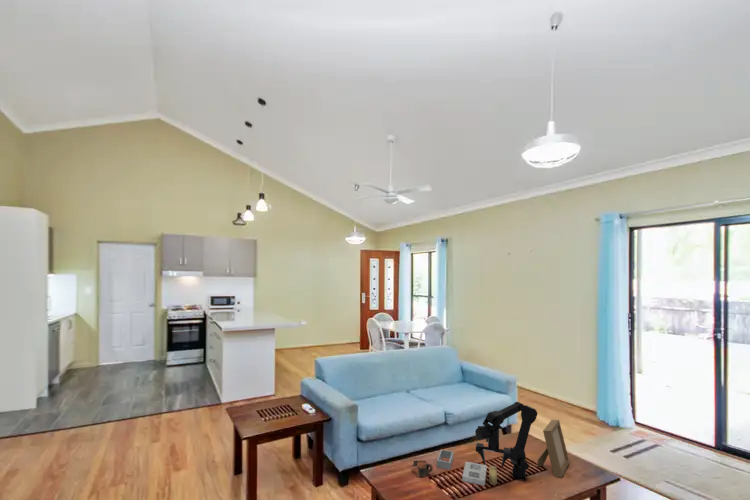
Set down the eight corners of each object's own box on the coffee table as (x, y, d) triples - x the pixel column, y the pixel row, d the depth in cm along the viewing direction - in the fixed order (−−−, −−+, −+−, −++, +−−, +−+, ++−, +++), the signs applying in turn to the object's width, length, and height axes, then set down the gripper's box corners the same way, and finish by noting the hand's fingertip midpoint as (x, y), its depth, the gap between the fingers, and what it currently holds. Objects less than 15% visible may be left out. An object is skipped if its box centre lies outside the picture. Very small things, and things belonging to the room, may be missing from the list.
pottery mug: (411, 477, 213) (409, 460, 218) (416, 478, 221) (415, 461, 225) (431, 476, 210) (430, 459, 214) (436, 476, 217) (434, 460, 222)
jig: (486, 469, 223) (486, 465, 223) (484, 485, 206) (484, 481, 206) (465, 465, 227) (465, 461, 227) (462, 481, 210) (462, 476, 210)
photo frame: (569, 464, 233) (568, 422, 235) (561, 478, 216) (561, 433, 217) (543, 456, 242) (543, 416, 244) (534, 470, 225) (534, 426, 226)
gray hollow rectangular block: (453, 458, 236) (453, 451, 236) (449, 469, 222) (449, 462, 222) (441, 455, 239) (441, 449, 239) (436, 467, 224) (436, 460, 225)
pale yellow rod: (496, 481, 211) (497, 466, 211) (496, 485, 207) (496, 470, 208) (489, 480, 212) (489, 465, 213) (488, 483, 208) (489, 468, 209)
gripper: (511, 434, 216) (511, 462, 215) (477, 428, 222) (477, 456, 221) (511, 442, 205) (511, 472, 204) (475, 436, 211) (475, 465, 210)
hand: (493, 465), depth 210 cm, fingers open, 9 cm apart
